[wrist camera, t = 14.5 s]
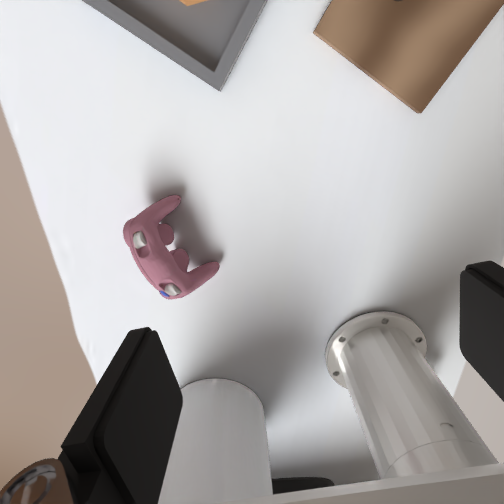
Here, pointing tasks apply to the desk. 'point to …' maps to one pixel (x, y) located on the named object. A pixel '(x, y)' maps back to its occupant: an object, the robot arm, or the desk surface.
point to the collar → (191, 2)
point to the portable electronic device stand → (299, 484)
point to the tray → (189, 30)
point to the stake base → (406, 40)
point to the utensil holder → (218, 446)
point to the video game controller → (163, 252)
